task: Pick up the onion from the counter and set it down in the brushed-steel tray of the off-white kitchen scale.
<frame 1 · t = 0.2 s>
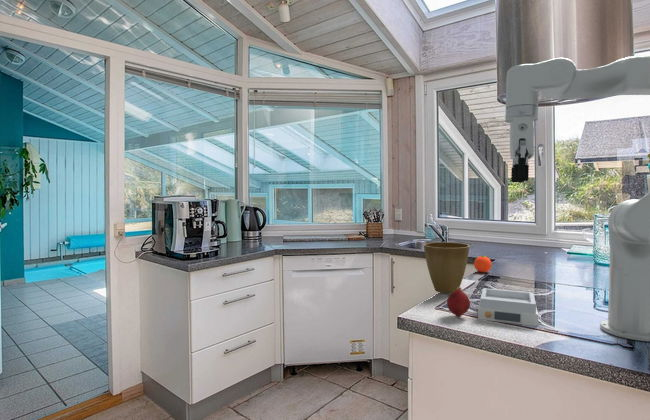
hand: (519, 181, 102), 36 cm above the worktop, tool pointing down, fingers open, 9 cm apart
clementine: (483, 272, 168), on the worktop
onion: (458, 317, 106), on the worktop
plant pot: (445, 291, 135), on the worktop
scale: (507, 315, 108), on the worktop
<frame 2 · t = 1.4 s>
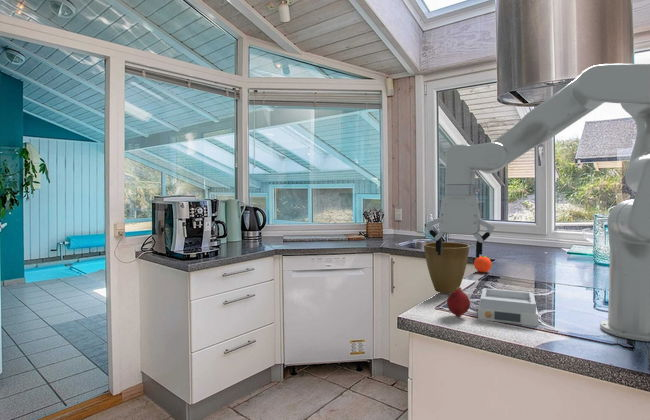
hand: (458, 255, 106), 16 cm above the worktop, tool pointing down, fingers open, 9 cm apart
nothing on the worktop moved.
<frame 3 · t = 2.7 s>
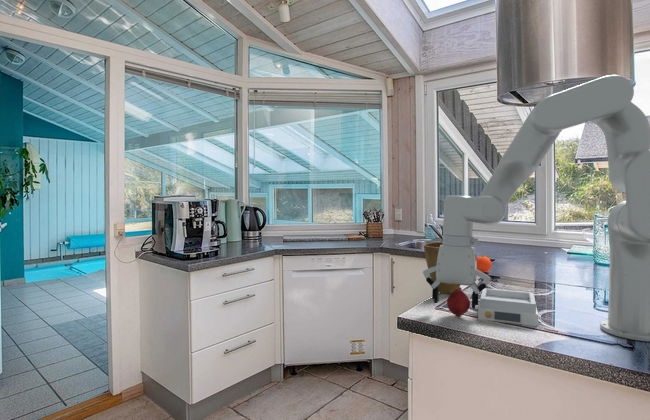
hand: (454, 304, 106), 3 cm above the worktop, tool pointing down, fingers open, 9 cm apart
nothing on the worktop moved.
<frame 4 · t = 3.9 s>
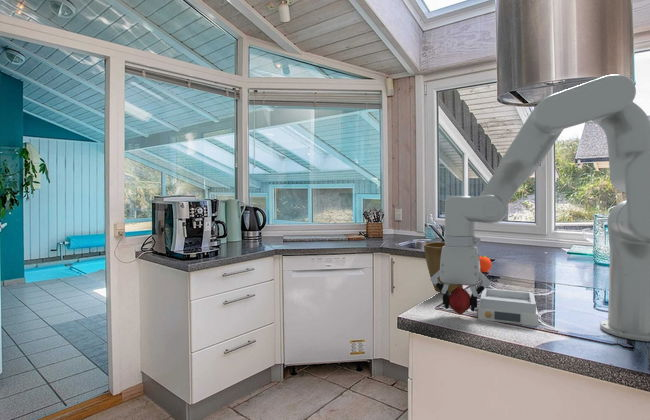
hand: (459, 308, 106), 2 cm above the worktop, tool pointing down, fingers closed on onion, 5 cm apart
onion: (459, 315, 106), on the worktop, touching gripper
everything else where it was.
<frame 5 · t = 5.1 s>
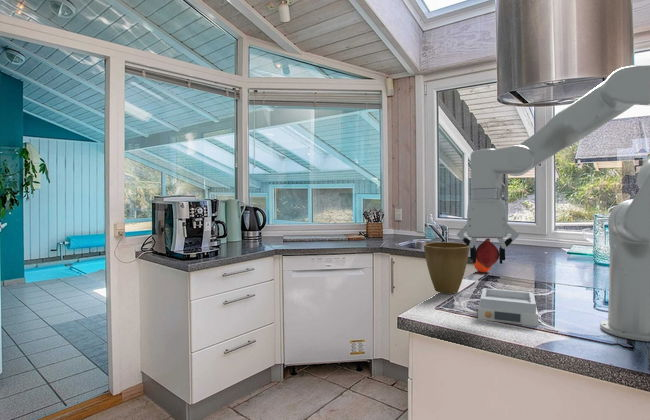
hand: (487, 262, 106), 15 cm above the worktop, tool pointing down, fingers closed on onion, 5 cm apart
onion: (487, 268, 106), point 13 cm above the worktop, touching gripper
everything else where it was.
when the fingers open (6 cm above the worktop, at t = 7.3 s): onion drops 1 cm, resting on scale.
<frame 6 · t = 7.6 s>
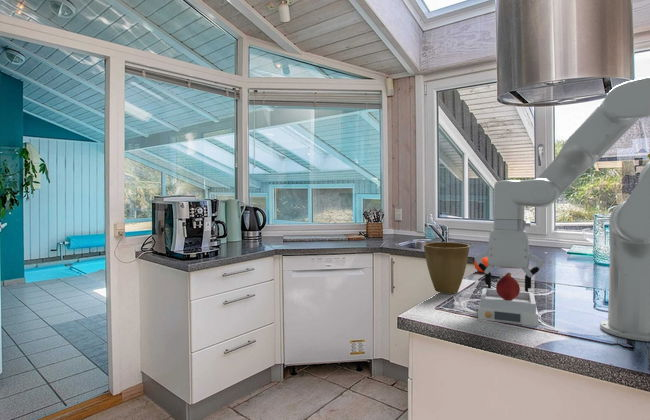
hand: (507, 289, 107), 7 cm above the worktop, tool pointing down, fingers open, 8 cm apart
onion: (507, 302, 107), point 3 cm above the worktop, touching scale
everything else where it was.
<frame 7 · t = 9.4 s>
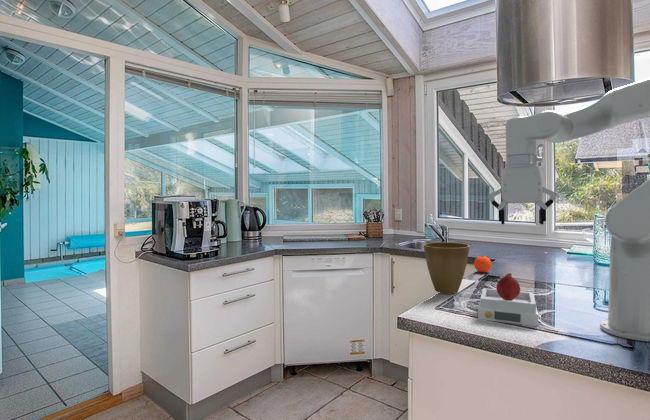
hand: (521, 224, 110), 25 cm above the worktop, tool pointing down, fingers open, 9 cm apart
nothing on the worktop moved.
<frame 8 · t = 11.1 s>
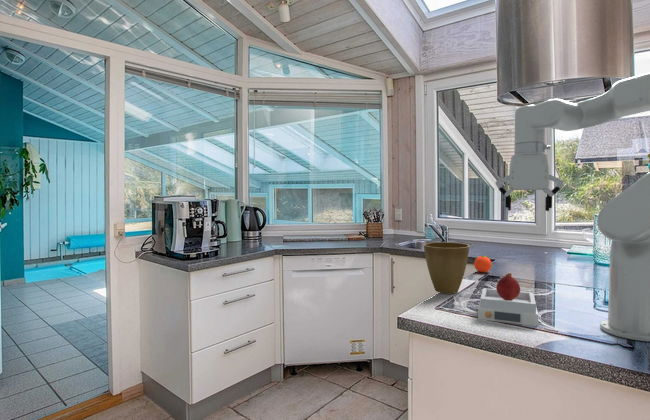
hand: (527, 210, 113), 28 cm above the worktop, tool pointing down, fingers open, 9 cm apart
nothing on the worktop moved.
at the end: onion inside the target area on the scale (0.1 cm from its centre), point 3.4 cm above the scale's base; the gripper is holding nothing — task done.
